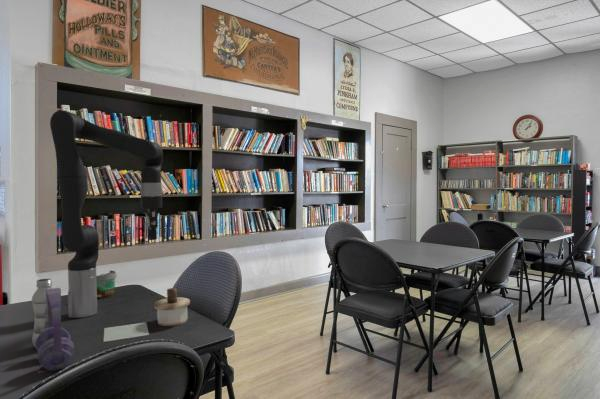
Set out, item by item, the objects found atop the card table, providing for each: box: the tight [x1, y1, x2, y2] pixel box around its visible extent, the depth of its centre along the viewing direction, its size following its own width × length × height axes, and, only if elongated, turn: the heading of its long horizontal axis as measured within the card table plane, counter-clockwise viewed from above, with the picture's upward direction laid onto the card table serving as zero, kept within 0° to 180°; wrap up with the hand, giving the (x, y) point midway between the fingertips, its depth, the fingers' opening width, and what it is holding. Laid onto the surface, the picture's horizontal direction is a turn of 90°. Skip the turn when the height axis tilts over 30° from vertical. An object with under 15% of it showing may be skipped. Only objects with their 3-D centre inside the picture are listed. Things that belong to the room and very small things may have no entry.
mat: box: [103, 322, 150, 343], centre depth 130 cm, size 13×13×1 cm
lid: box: [153, 287, 191, 310], centre depth 140 cm, size 12×12×6 cm
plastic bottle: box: [31, 278, 53, 349], centre depth 119 cm, size 6×7×20 cm
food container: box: [96, 270, 118, 299], centre depth 174 cm, size 12×6×10 cm, turn 168°
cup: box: [156, 306, 189, 327], centre depth 140 cm, size 10×10×6 cm
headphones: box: [35, 287, 75, 371], centre depth 108 cm, size 18×8×20 cm, turn 36°
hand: (152, 238), depth 150 cm, fingers open, 8 cm apart
